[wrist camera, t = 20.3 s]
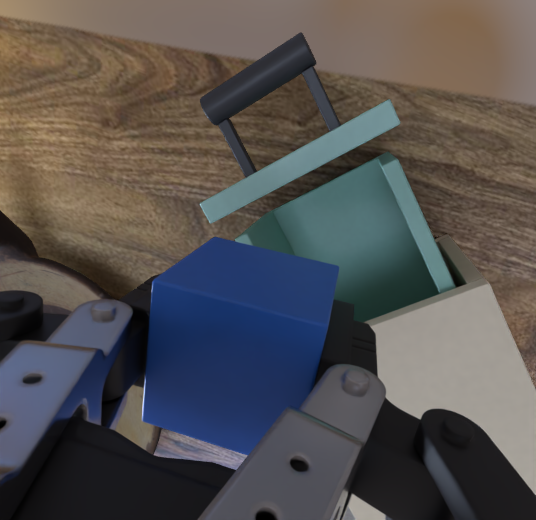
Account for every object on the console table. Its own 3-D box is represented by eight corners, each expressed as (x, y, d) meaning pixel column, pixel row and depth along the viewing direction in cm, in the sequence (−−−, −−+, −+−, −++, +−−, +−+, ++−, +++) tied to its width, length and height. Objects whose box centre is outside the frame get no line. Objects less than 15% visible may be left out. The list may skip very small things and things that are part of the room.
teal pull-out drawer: (207, 121, 28) (151, 118, 20) (348, 33, 24) (342, -10, 17) (331, 357, 31) (322, 427, 23) (472, 308, 27) (511, 372, 20)
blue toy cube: (340, 265, 12) (328, 325, 8) (312, 376, 13) (292, 471, 10) (214, 235, 13) (151, 279, 9) (200, 344, 14) (140, 422, 10)
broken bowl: (-33, 416, 43) (-111, 472, 36) (-26, 135, 33) (-135, 136, 26) (156, 499, 41) (112, 578, 34) (228, 224, 30) (187, 252, 23)
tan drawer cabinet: (295, 296, 31) (267, 363, 22) (447, 233, 27) (489, 282, 18) (380, 457, 33) (387, 576, 24) (531, 420, 30) (603, 545, 21)
